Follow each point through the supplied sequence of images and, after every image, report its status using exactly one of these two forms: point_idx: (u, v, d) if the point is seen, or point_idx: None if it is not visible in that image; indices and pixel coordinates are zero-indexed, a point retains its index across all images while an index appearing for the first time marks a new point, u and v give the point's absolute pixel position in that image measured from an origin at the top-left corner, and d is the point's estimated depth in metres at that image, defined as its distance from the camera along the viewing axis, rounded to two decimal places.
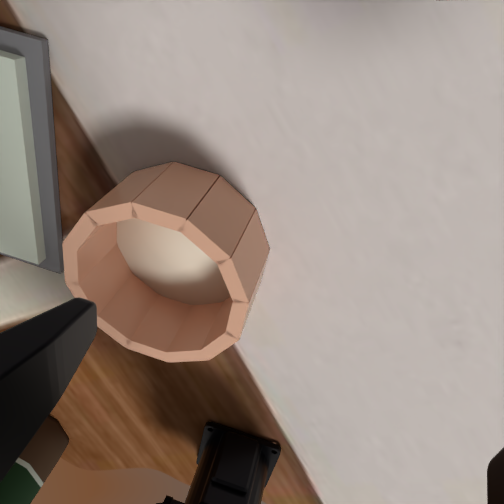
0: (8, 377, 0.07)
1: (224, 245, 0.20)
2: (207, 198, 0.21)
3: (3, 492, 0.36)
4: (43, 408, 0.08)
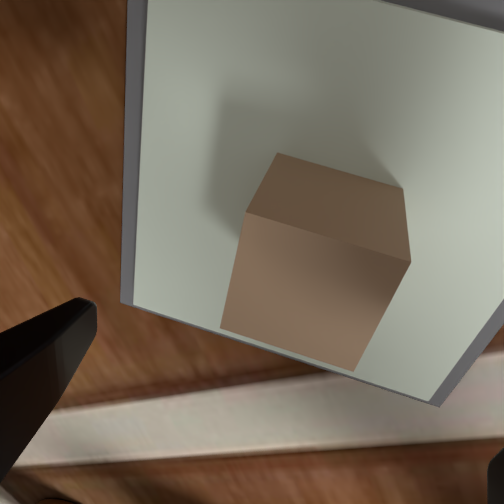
0: (8, 377, 0.07)
1: None
2: None
3: None
4: (43, 408, 0.08)
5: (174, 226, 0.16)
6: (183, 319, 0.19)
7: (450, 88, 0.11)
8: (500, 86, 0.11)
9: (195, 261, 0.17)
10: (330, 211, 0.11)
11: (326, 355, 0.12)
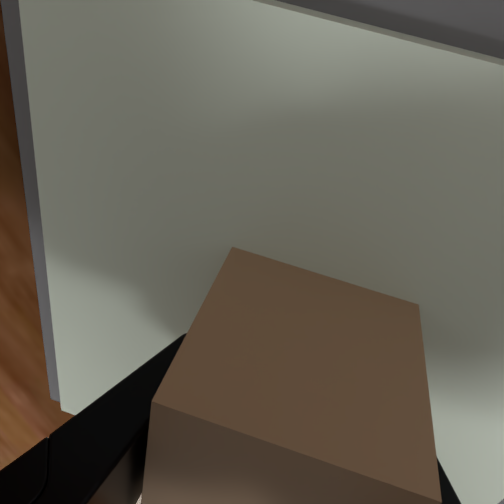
0: (147, 426, 0.07)
1: None
2: None
3: None
4: None
5: (100, 328, 0.12)
6: None
7: (498, 170, 0.07)
8: None
9: (133, 369, 0.12)
10: (303, 376, 0.07)
11: None
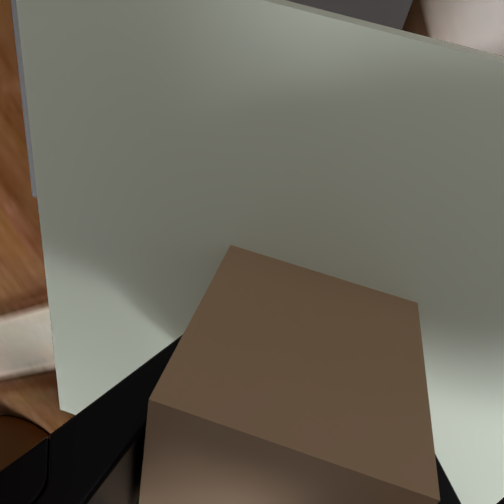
0: None
1: None
2: None
3: None
4: None
5: (99, 327, 0.12)
6: None
7: (497, 167, 0.07)
8: None
9: (131, 368, 0.12)
10: (300, 375, 0.07)
11: None
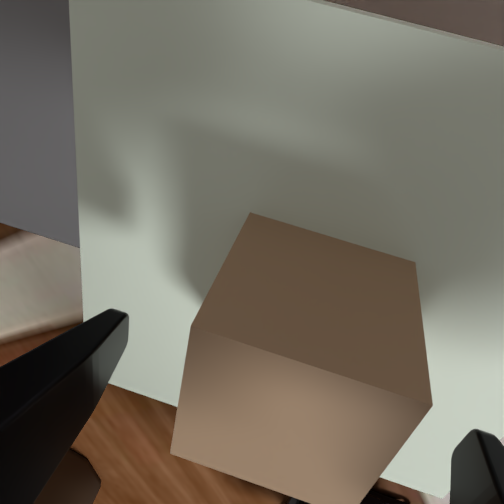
0: (50, 392, 0.07)
1: None
2: None
3: None
4: (79, 420, 0.08)
5: (127, 293, 0.13)
6: (145, 394, 0.15)
7: (482, 138, 0.08)
8: None
9: (155, 332, 0.13)
10: (316, 312, 0.08)
11: (312, 496, 0.09)
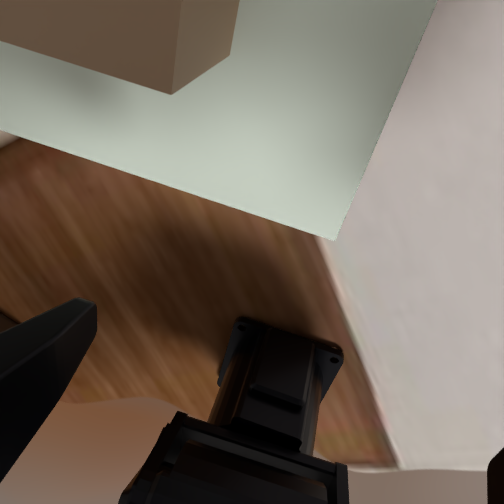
0: (8, 377, 0.07)
1: None
2: None
3: None
4: (43, 408, 0.08)
5: None
6: (32, 138, 0.15)
7: None
8: None
9: None
10: None
11: (129, 66, 0.08)
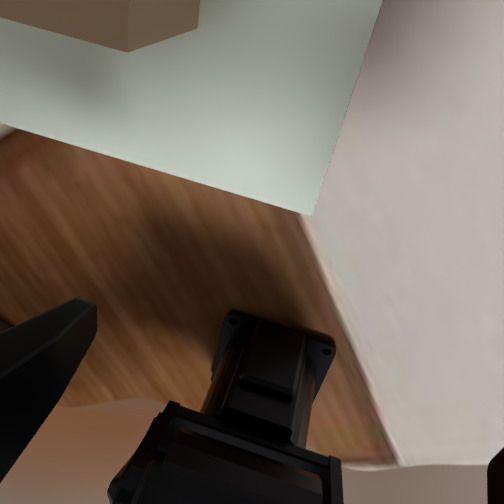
0: (8, 377, 0.07)
1: None
2: None
3: None
4: (43, 408, 0.08)
5: None
6: (10, 123, 0.15)
7: None
8: None
9: (0, 18, 0.13)
10: None
11: (85, 24, 0.08)
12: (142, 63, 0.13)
